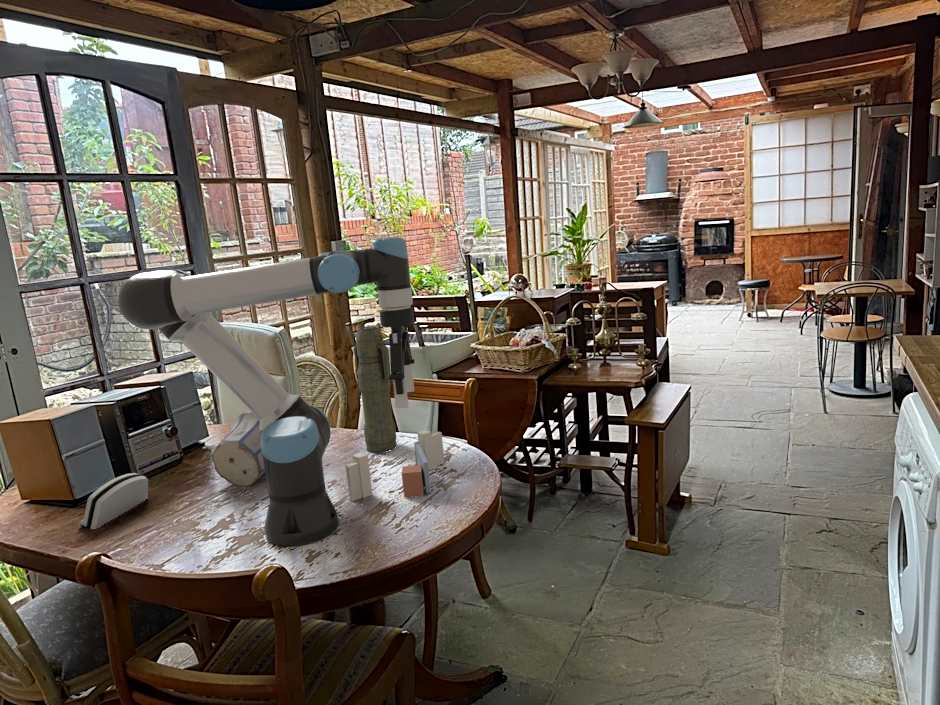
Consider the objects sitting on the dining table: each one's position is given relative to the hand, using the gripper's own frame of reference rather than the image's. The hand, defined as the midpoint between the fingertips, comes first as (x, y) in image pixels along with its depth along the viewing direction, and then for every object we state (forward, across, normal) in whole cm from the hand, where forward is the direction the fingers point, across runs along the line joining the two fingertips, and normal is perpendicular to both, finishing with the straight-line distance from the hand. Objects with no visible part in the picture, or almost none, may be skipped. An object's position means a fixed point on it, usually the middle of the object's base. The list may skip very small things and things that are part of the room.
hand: (405, 399), depth 152 cm
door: (+22, -5, +2) cm, 23 cm away
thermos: (+23, -34, -13) cm, 43 cm away
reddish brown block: (+23, 0, 0) cm, 23 cm away
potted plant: (+23, -24, -42) cm, 54 cm away
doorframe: (+23, -8, -5) cm, 24 cm away
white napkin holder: (+23, 0, -71) cm, 75 cm away
